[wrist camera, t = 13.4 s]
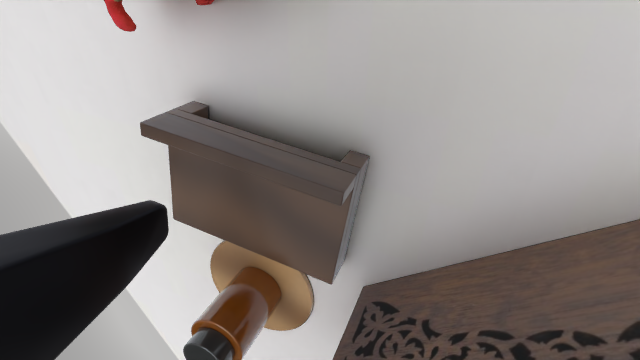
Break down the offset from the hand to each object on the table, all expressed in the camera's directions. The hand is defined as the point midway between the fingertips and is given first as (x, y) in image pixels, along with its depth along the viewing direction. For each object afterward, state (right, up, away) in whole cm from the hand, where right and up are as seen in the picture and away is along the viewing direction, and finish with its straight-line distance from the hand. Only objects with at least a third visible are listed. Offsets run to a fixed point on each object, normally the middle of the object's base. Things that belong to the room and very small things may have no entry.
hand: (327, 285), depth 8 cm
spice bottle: (-5, -6, +21) cm, 22 cm away
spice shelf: (-3, +2, +16) cm, 17 cm away
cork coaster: (-5, -6, +21) cm, 22 cm away
